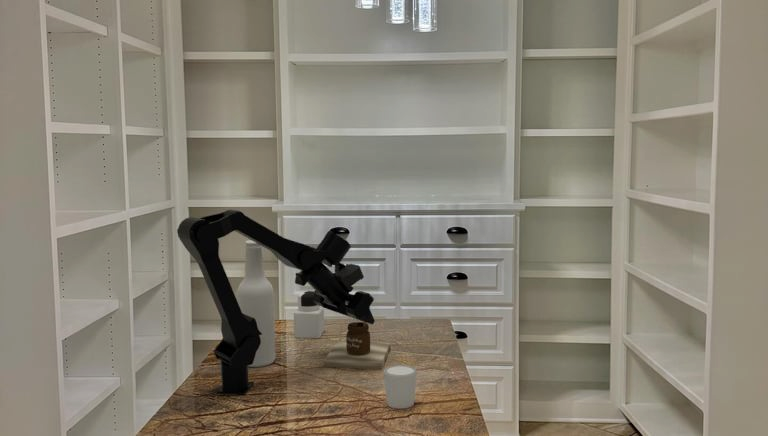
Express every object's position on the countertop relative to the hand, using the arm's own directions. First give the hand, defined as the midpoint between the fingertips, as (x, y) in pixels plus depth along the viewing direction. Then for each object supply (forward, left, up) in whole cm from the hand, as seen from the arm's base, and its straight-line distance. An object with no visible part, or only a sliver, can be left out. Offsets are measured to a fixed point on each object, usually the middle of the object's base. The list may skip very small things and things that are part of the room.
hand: (362, 318), depth 166 cm
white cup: (-29, -13, -10) cm, 33 cm away
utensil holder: (-2, +1, -8) cm, 8 cm away
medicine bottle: (+17, +18, -10) cm, 27 cm away
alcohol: (-7, +25, -10) cm, 28 cm away
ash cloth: (-1, +1, -10) cm, 10 cm away
